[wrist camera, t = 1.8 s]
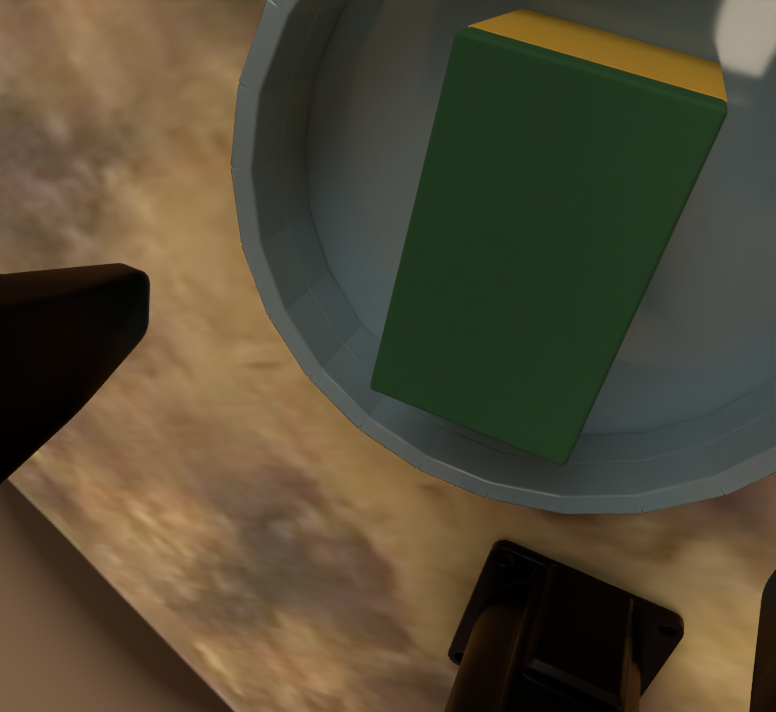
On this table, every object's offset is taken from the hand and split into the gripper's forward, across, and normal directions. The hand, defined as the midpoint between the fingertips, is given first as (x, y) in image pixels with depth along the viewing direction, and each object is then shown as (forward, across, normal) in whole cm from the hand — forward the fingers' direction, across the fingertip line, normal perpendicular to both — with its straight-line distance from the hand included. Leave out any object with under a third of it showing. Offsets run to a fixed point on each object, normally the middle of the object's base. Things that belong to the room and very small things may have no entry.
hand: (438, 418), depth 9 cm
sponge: (+10, 0, 0) cm, 11 cm away
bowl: (+11, 0, 0) cm, 11 cm away
